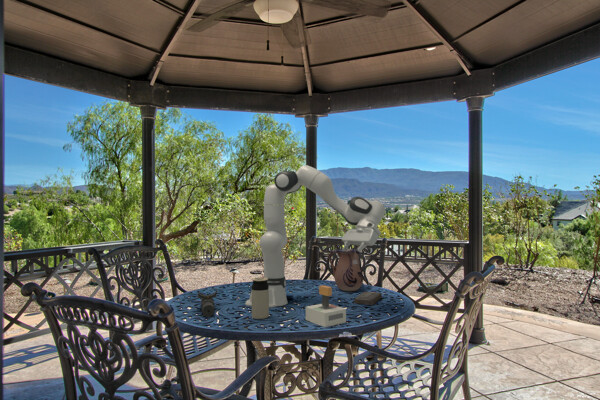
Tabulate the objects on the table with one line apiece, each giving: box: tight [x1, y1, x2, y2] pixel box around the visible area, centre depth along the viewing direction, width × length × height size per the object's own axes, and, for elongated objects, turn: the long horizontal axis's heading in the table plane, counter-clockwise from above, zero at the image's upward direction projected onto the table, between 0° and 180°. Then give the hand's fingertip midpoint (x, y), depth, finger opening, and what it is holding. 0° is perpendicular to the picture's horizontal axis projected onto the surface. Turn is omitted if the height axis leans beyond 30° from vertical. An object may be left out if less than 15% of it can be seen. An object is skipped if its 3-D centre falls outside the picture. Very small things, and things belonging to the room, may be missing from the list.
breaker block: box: [305, 303, 347, 328], centre depth 178 cm, size 12×14×6 cm
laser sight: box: [197, 288, 218, 318], centre depth 197 cm, size 10×22×10 cm, turn 15°
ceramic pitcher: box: [328, 248, 364, 292], centre depth 246 cm, size 18×21×25 cm
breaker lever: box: [318, 284, 333, 307], centre depth 178 cm, size 2×6×9 cm, turn 35°
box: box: [353, 291, 383, 306], centre depth 217 cm, size 11×17×3 cm, turn 153°
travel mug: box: [251, 276, 270, 320], centre depth 186 cm, size 8×8×18 cm
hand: (351, 250), depth 189 cm, fingers open, 8 cm apart
